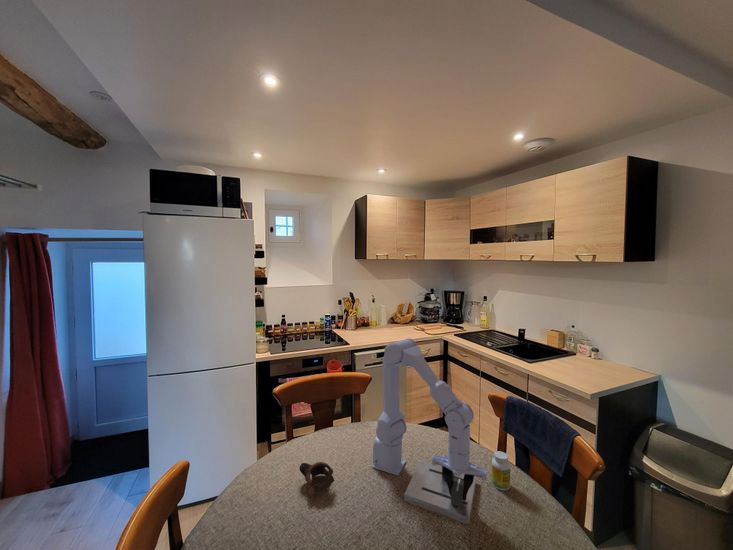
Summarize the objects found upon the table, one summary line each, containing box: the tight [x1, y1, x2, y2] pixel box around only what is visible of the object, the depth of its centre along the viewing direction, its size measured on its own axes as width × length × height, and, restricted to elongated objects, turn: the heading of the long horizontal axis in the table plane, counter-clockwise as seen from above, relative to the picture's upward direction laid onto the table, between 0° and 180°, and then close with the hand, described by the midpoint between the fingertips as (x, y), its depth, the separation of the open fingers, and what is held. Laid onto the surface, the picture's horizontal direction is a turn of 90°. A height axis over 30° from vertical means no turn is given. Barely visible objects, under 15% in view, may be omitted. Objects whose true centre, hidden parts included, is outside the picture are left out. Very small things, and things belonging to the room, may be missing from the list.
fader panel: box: [403, 459, 477, 525], centre depth 90 cm, size 18×17×2 cm
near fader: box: [451, 478, 464, 508], centre depth 84 cm, size 3×5×4 cm, turn 154°
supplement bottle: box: [491, 450, 511, 491], centre depth 92 cm, size 5×5×10 cm
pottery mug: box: [299, 461, 335, 498], centre depth 91 cm, size 12×10×8 cm
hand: (458, 495), depth 84 cm, fingers closed on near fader, 3 cm apart
